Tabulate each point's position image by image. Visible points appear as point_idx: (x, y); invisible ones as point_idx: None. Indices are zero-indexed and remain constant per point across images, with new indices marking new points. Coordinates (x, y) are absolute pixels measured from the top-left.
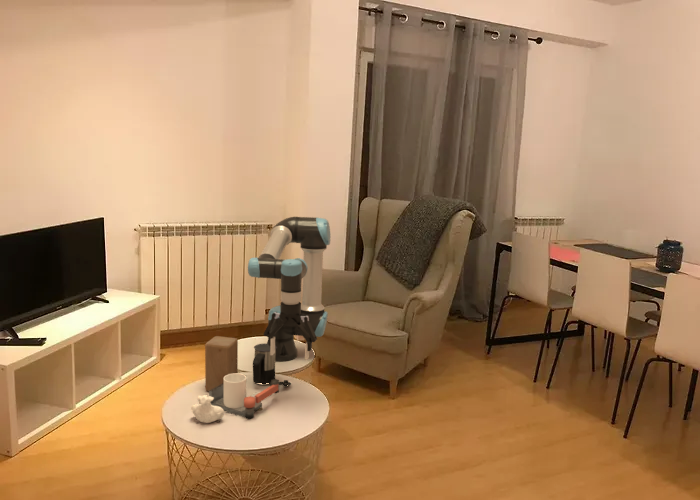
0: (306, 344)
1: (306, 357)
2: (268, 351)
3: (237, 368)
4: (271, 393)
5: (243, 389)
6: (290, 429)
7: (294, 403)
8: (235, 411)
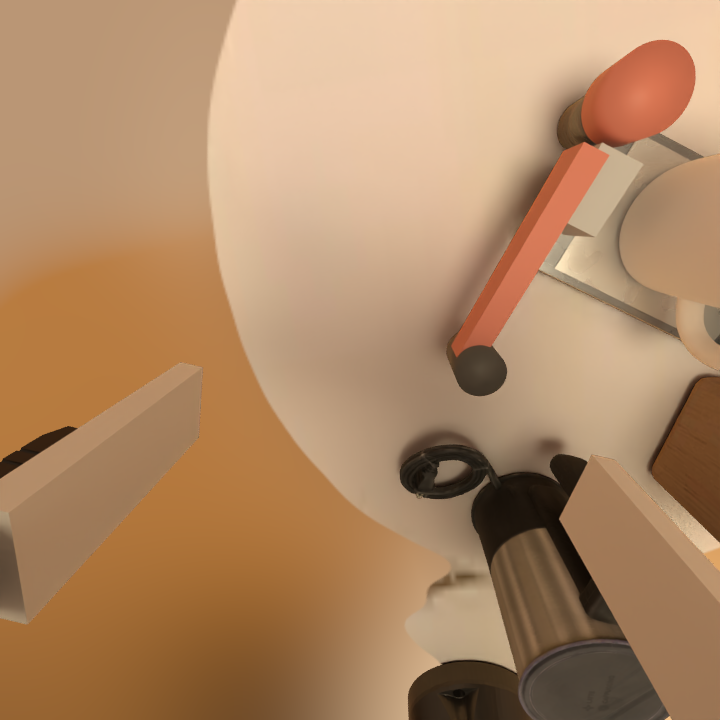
0: (6, 489)
1: (165, 375)
2: (573, 641)
3: (714, 528)
4: (486, 287)
5: (715, 186)
6: (340, 3)
7: (363, 315)
8: (675, 144)
